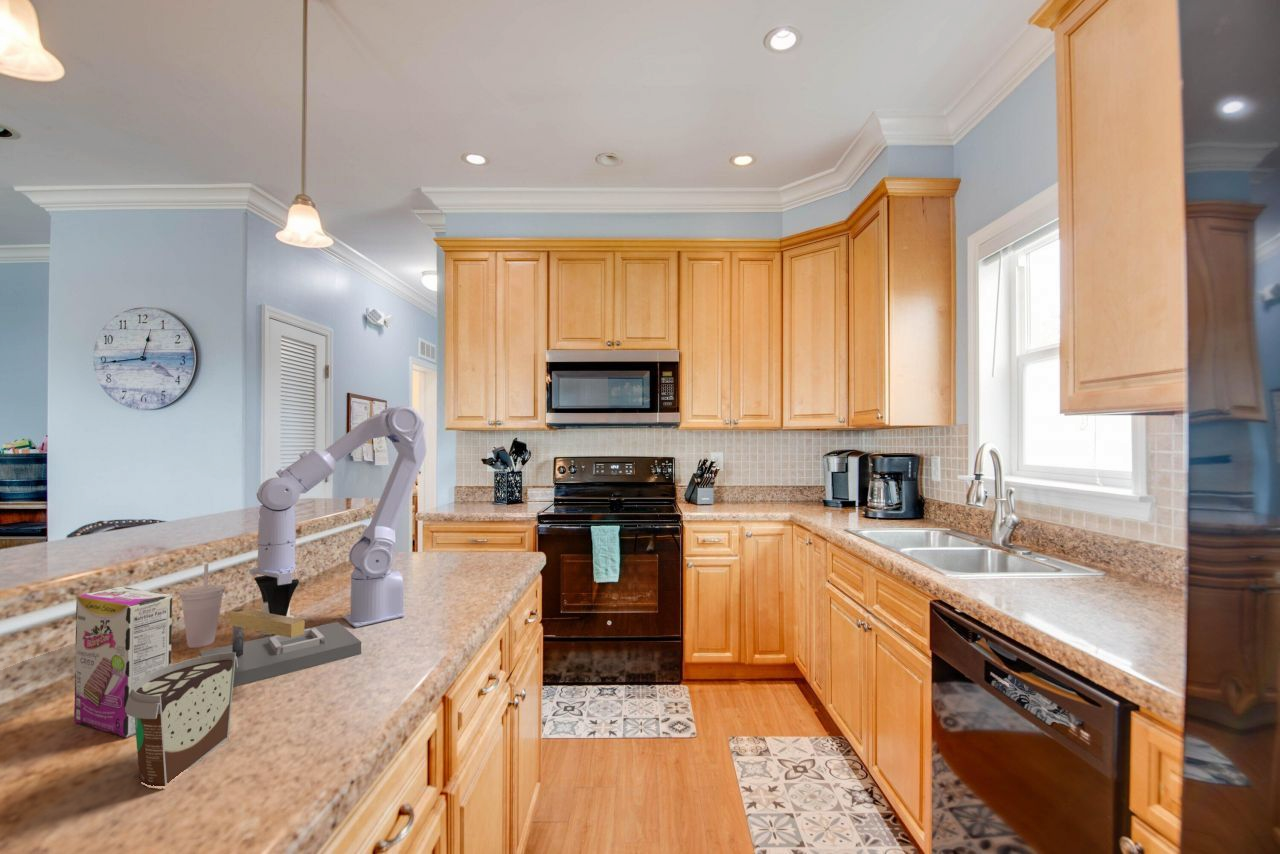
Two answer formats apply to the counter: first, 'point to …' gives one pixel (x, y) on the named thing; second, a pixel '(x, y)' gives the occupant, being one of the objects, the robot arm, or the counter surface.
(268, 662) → the socket block
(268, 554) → the robot arm
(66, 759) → the counter surface
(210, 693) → the food container
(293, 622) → the tan l-shaped bar
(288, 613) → the plug
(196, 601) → the smoothie
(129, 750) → the counter surface
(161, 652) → the candy bar box
